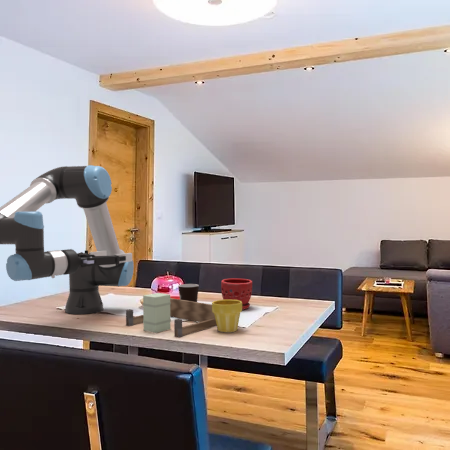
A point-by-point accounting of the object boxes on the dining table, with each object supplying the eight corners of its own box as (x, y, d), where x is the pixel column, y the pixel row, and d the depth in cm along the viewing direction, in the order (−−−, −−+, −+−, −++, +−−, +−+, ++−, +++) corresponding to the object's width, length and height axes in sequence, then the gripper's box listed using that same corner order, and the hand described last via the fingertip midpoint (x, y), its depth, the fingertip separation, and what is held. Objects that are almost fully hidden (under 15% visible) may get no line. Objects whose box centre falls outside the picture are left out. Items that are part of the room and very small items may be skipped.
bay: (126, 325, 165) (125, 306, 165) (168, 315, 181) (168, 297, 181) (178, 337, 148) (178, 315, 148) (219, 325, 164) (219, 305, 164)
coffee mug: (196, 311, 188) (195, 287, 188) (175, 310, 190) (175, 286, 190) (203, 306, 199) (202, 283, 199) (183, 305, 201) (183, 282, 201)
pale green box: (143, 330, 158) (142, 295, 158) (158, 326, 163) (158, 292, 163) (155, 333, 154) (154, 297, 154) (170, 329, 160) (170, 294, 159)
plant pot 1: (216, 310, 190) (216, 281, 190) (228, 304, 202) (228, 277, 202) (246, 312, 185) (246, 283, 185) (256, 306, 197) (256, 278, 197)
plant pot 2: (211, 327, 162) (211, 299, 162) (240, 326, 163) (240, 298, 162) (213, 334, 151) (212, 305, 151) (244, 333, 152) (243, 304, 152)
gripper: (40, 271, 146) (96, 264, 163) (86, 278, 131) (143, 269, 147) (39, 248, 146) (95, 243, 162) (85, 252, 130) (142, 246, 147)
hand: (118, 255), depth 155 cm, fingers open, 13 cm apart
